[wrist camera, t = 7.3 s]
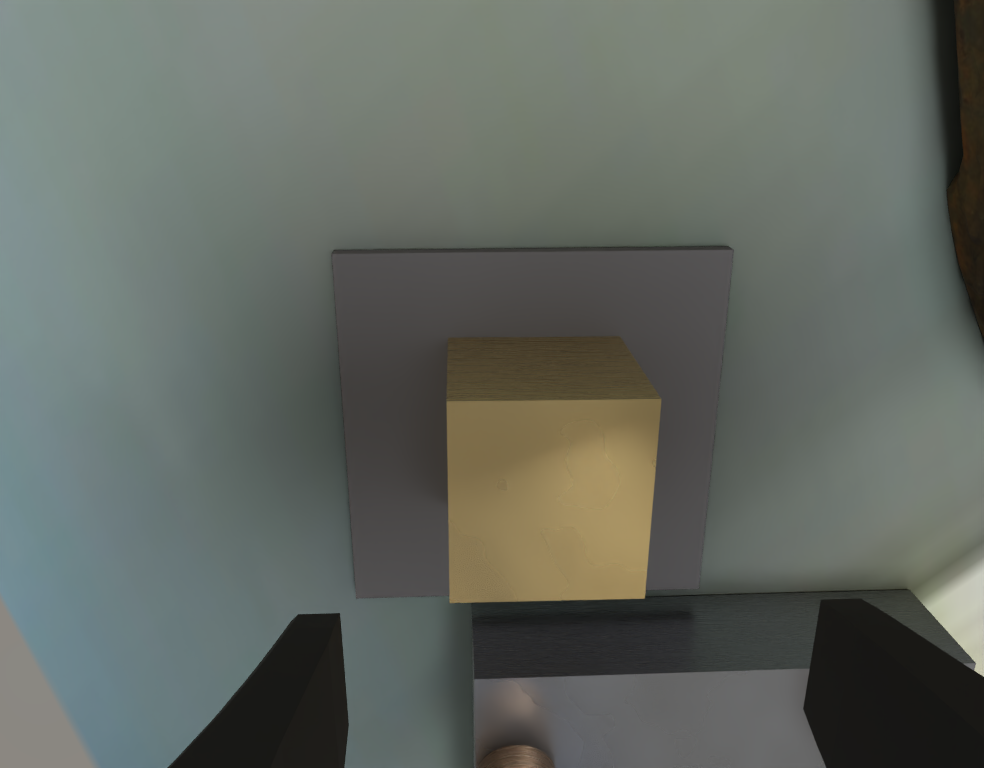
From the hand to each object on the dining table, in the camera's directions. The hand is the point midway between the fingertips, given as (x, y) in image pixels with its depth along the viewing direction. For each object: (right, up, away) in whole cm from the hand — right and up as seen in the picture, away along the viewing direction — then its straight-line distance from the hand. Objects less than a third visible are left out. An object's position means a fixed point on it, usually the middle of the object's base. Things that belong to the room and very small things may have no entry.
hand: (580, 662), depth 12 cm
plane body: (+4, -4, +11) cm, 12 cm away
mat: (0, +3, +8) cm, 9 cm away
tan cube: (0, +3, +7) cm, 8 cm away
